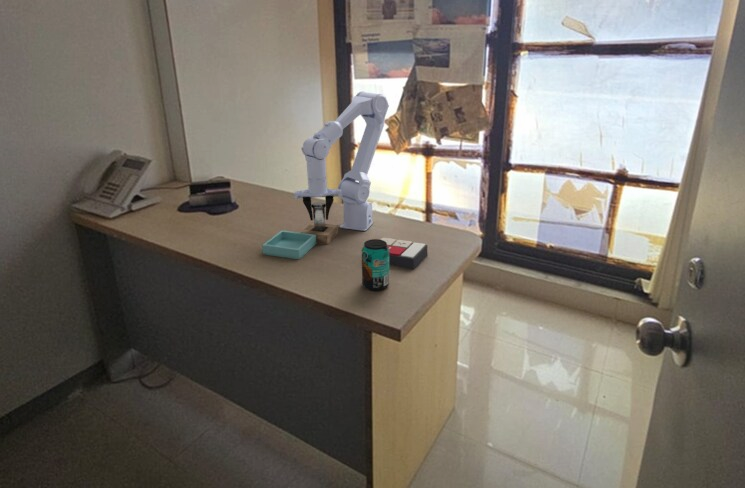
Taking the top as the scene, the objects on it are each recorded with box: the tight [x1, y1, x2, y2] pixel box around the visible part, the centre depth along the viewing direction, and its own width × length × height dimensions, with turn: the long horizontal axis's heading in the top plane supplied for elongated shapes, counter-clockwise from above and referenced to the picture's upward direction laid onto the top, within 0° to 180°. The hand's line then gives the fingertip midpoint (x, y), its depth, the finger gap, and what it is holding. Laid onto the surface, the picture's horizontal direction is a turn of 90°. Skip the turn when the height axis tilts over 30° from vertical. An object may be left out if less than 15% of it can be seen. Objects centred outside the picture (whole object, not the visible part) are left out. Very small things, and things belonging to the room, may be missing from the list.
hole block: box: [300, 221, 339, 245], centre depth 156 cm, size 9×9×3 cm
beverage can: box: [361, 238, 390, 292], centre depth 124 cm, size 7×7×12 cm
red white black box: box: [379, 237, 428, 271], centre depth 142 cm, size 11×4×15 cm
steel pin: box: [311, 201, 326, 232], centre depth 154 cm, size 4×4×9 cm
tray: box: [261, 229, 318, 260], centre depth 148 cm, size 12×12×3 cm
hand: (319, 218), depth 154 cm, fingers closed on steel pin, 4 cm apart
